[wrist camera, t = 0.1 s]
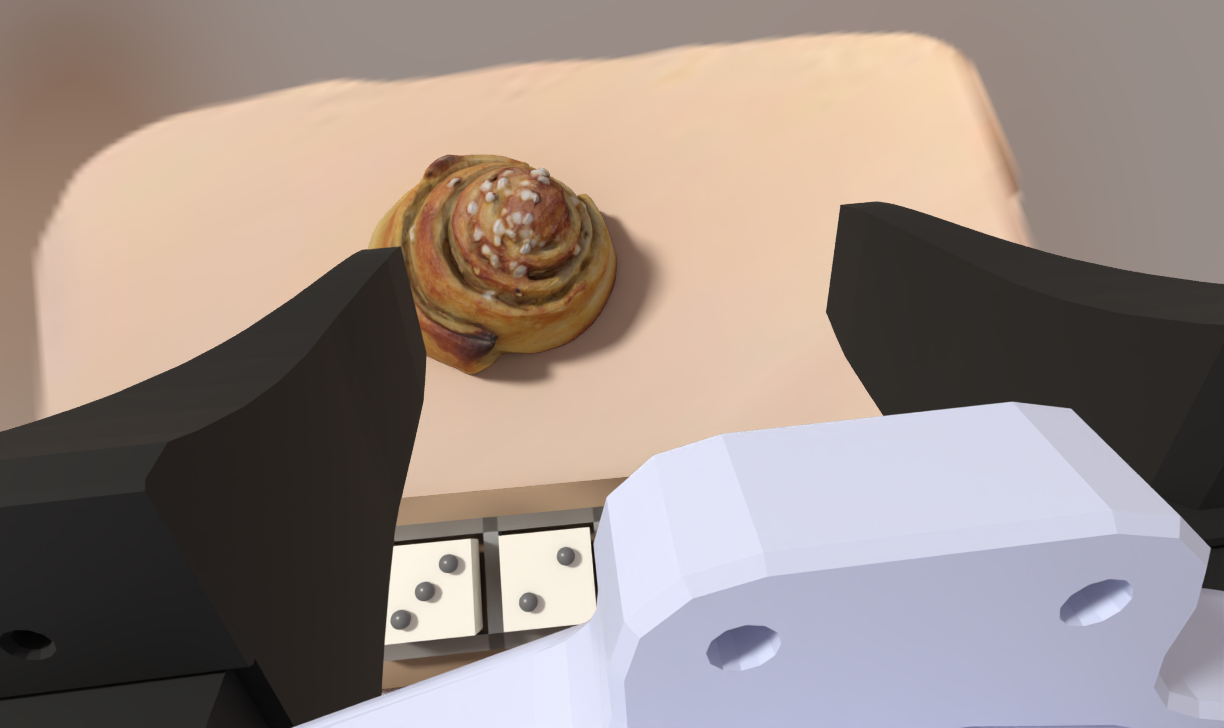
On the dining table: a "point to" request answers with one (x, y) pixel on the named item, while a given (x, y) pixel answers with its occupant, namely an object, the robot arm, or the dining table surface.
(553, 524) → the board
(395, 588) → the tile three
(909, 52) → the dining table surface
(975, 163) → the dining table surface
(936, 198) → the dining table surface
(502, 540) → the tile two
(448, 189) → the pastry
